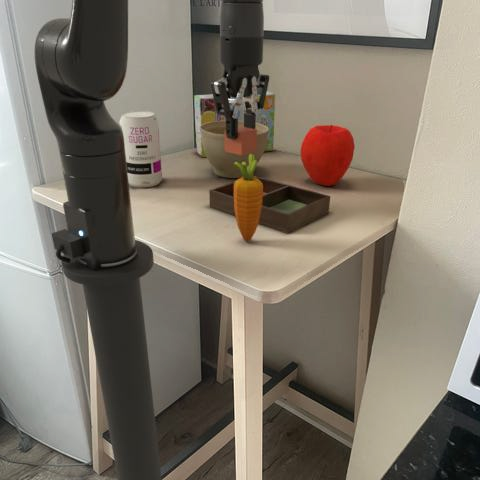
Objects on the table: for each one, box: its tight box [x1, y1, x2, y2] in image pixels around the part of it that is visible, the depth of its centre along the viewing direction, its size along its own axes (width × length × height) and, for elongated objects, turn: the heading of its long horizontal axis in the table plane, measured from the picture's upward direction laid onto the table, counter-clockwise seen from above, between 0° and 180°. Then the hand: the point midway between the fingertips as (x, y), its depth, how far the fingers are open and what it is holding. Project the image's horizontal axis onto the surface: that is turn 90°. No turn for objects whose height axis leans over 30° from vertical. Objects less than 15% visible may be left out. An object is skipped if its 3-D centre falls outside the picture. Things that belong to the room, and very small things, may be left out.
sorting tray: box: [208, 174, 331, 234], centre depth 101 cm, size 14×20×4 cm
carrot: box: [233, 154, 263, 243], centre depth 84 cm, size 5×5×15 cm
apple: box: [299, 124, 355, 187], centre depth 112 cm, size 12×12×13 cm
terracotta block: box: [225, 126, 257, 155], centre depth 96 cm, size 4×4×4 cm
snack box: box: [193, 90, 276, 158], centre depth 135 cm, size 21×6×15 cm, turn 111°
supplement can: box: [118, 110, 163, 189], centre depth 111 cm, size 8×8×15 cm
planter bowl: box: [200, 120, 269, 179], centre depth 119 cm, size 16×16×11 cm
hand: (240, 135), depth 95 cm, fingers closed on terracotta block, 4 cm apart
